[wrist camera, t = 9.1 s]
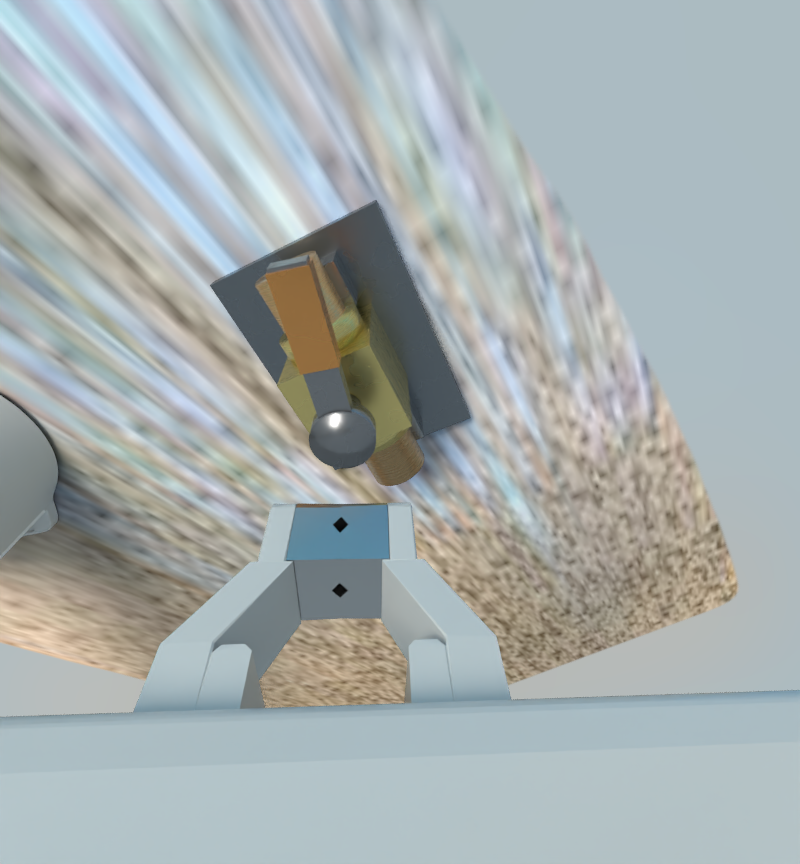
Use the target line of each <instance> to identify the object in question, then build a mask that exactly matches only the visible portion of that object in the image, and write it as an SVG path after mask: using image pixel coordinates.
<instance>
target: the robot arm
mask: <svg viewBox="0 0 800 864" xmlns="http://www.w3.org/2000/svg"><path fill="white" fill-rule="evenodd" d="M57 480H58V465H57V461H56V457H55V454H54V452H53V449H52V447H51V445H50V444H49V442H48V440H47V439H46V437H45V436H44V434H43V433H42V432H41V430H40V429H39V428H38V427H37V426H36V424H35V423H34V422H33V421H32V420H31V419H30V418H29V417H28V416H27V415H26V414H25V413H23V412H22V411H21V410H20V409H19V408H17V407H16V406H15V405H14V404H12V403H11V402H10V401H8V400H7V399H5V398H4V397H2V396H1V395H0V559H1V558H2V557H3V556H4V555H5V554H6V553H7V552H8V551H9V550H10V549H11V548H12V547H13V546H14V544H15V543H16V542H17V541H18V540H19V539H20V538H21V537H23V536H28V535H33V534H38V533H42V532H46V531H48V530H50V529H51V528H52V527H53V526H54V525H55V524H56V523H57V521H58V514H57V510H56V507H55V504H54V501H53V495H54V491H55V488H56V485H57ZM337 618H381V621H382V622H383V624H384V625H385V627H386V628H387V630H388V631H389V633H390V635H391V636H392V638H393V639H394V641H395V642H396V644H397V645H398V647H399V649H400V650H401V652H402V653H403V655H404V656H405V658H406V660H407V674H406V688H405V701H404V703H399V704H370V705H340V706H310V707H280V708H265V705H264V700H263V696H262V692H261V688H260V683H259V680H260V678H261V677H262V675H263V674H264V673H265V671H266V670H267V669H268V667H269V666H270V665H271V663H272V662H273V660H274V659H275V658H276V656H277V655H278V654H279V652H280V651H281V650H282V648H283V647H284V645H285V644H286V643H287V641H288V640H289V639H290V637H291V636H292V635H293V633H294V632H295V630H296V629H297V628H298V626H299V625H300V624H301V620H317V619H337ZM0 864H800V690H787V691H786V690H785V691H756V692H730V693H729V692H728V693H727V692H725V693H699V694H698V693H697V694H696V693H695V694H665V695H636V696H607V697H575V698H550V699H549V698H545V699H517V700H516V699H515V700H511V697H510V692H509V688H508V684H507V680H506V675H505V671H504V667H503V662H502V658H501V654H500V650H499V645H498V641H497V637H496V635H495V634H494V633H493V632H492V631H491V630H490V629H489V628H488V627H487V626H486V625H485V624H484V622H483V621H482V620H481V619H480V618H479V617H478V616H477V615H476V614H475V613H474V612H473V611H472V610H471V609H470V608H469V607H468V605H467V604H466V603H465V602H464V601H463V600H462V599H461V598H460V597H459V596H458V595H457V594H456V593H455V592H454V591H453V589H452V588H451V587H450V586H449V585H448V584H447V583H446V582H445V581H444V580H443V579H442V578H441V577H440V576H439V575H438V574H437V572H436V571H435V570H434V569H433V568H432V567H431V566H430V565H429V564H428V563H427V562H426V561H425V560H424V559H417V553H416V543H415V533H414V524H413V514H412V505H411V504H410V503H388V505H387V503H379V504H273V506H272V508H271V509H270V513H269V517H268V521H267V525H266V529H265V533H264V538H263V542H262V546H261V550H260V554H259V558H258V562H250V563H249V564H248V565H246V566H245V567H244V568H243V569H242V570H241V571H240V572H239V573H238V574H237V575H235V576H234V577H233V578H232V579H231V580H230V581H229V582H228V583H227V584H226V585H224V586H223V587H222V588H221V589H220V590H219V591H218V592H217V593H216V594H215V595H213V596H212V597H211V598H210V599H209V600H208V601H207V602H206V603H205V604H204V605H202V606H201V607H200V608H199V609H198V610H197V611H196V612H195V613H194V614H193V615H191V616H190V617H189V618H188V619H187V620H186V621H185V622H184V623H183V624H182V625H180V626H179V627H178V628H177V629H176V630H175V631H174V632H173V633H172V634H171V635H169V636H168V637H167V638H166V639H165V640H164V641H163V642H162V643H161V644H160V646H159V648H158V651H157V653H156V656H155V658H154V661H153V663H152V666H151V669H150V671H149V674H148V676H147V679H146V681H145V684H144V686H143V689H142V691H141V694H140V696H139V699H138V701H137V704H136V707H135V709H134V712H131V713H99V714H71V715H70V714H69V715H40V716H10V717H0Z"/></svg>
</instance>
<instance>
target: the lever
mask: <svg viewBox="0 0 800 864" xmlns="http://www.w3.org/2000/svg"><path fill="white" fill-rule="evenodd" d="M266 270H267V273H266V274H265V276H266V279H267V282H268V285H269V287H270V290H271V293H272V296H273V299H274V302H275V304H276V307H277V310H278V313H279V316H280V318H281V321H282V324H283V327H284V330H285V333H286V335H287V338H288V341H289V344H290V347H291V350H292V352H293V355H294V358H295V361H296V364H297V367H298V369H299V372H300V375H302V374H303V376H304V379H305V382H306V384H307V387H308V390H309V393H310V396H311V399H312V402H313V404H314V407H315V410H316V414H315V415H314V418H313V421H312V426H311V431H310V435H309V444H310V448H311V450H312V452H313V453H314V455H315V456H316V457H317V458H318V459H319V460H320V461H322V462H323V463H325V464H327V465H330V466H333V467H337V468H351V467H355V466H358V465H360V464H362V463H364V462H366V461H367V460H368V459H369V458H370V457H371V456H372V454H373V452H374V450H375V447H376V422H375V419H374V417H373V415H372V414H371V412H370V411H369V410H368V409H367V408H366V407H364V406H363V405H361V404H359V403H357V402H354V401H352V399H351V396H350V392H349V389H348V385H347V382H346V379H345V375H344V372H343V369H342V365H341V354H340V350H339V347H338V344H337V340H336V337H335V333H334V330H333V327H332V323H331V320H330V316H329V313H328V310H327V306H326V303H325V299H324V296H323V293H322V289H321V286H320V282H319V279H318V276H317V272H316V269H315V265H314V262H313V259H312V258H311V259H310V258H309V255H305V256H301V257H296V258H292V259H287V260H283V261H278V262H273V263H270V265H269V266H268V267H267V269H266Z"/></svg>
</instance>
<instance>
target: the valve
mask: <svg viewBox="0 0 800 864" xmlns="http://www.w3.org/2000/svg"><path fill="white" fill-rule="evenodd" d="M305 255H309V258H310V259H311V258H312V259H313V262H314V265H315V269H316V272H317V276H318V279H319V282H320V286H321V289H322V293H323V296H324V299H325V303H326V306H327V310H328V313H329V316H330V320H331V323H332V327H333V330H334V333H335V337H336V340H337V344H338V347H339V350H340V354H341V365H342V369H343V372H344V375H345V379H346V382H347V385H348V389H349V392H350V396H351V399H352V401H354V402H357V403H359V404H361V405H363V406H364V407H366V408H367V409H368V410H369V411H370V412H371V414H372V415H373V417H374V419H375V422H376V447H375V450H374V452H373V454H372V456H371V457H370V458H369V459H368V460H367V461H366V462H365V463H366V464H367V466H368V467H369V469H370V471H371V472H372V474H373V475H374V477H375V479H376V480H377V482H378V483H380V484H381V485H385V486H393V485H398V484H401V483H403V482H405V481H407V480H409V479H410V478H412V477H413V476H414V475H415V474H416V473H417V472H418V471H419V470H420V469H421V467H422V465H423V463H424V454H423V452H422V450H421V449H420V447H419V445H418V443H417V441H416V440H417V439H420V438H422V437H424V436H425V435H427V434H430V433H432V432H435V431H438V430H440V429H443V428H445V427H448V426H451V425H453V424H456V423H458V422H461V421H464V420H466V419H469V418H470V414H469V411H468V409H467V407H466V404H465V402H464V400H463V398H462V395H461V393H460V391H459V388H458V386H457V384H456V382H455V379H454V377H453V375H452V372H451V370H450V368H449V366H448V363H447V361H446V359H445V356H444V354H443V352H442V350H441V347H440V345H439V343H438V340H437V338H436V336H435V334H434V331H433V329H432V327H431V325H430V322H429V320H428V318H427V315H426V313H425V311H424V309H423V306H422V304H421V302H420V299H419V297H418V295H417V293H416V290H415V288H414V286H413V283H412V281H411V279H410V277H409V274H408V272H407V270H406V267H405V265H404V263H403V261H402V258H401V256H400V254H399V252H398V249H397V247H396V245H395V242H394V240H393V238H392V236H391V233H390V231H389V229H388V226H387V224H386V222H385V220H384V217H383V215H382V213H381V210H380V208H379V206H378V204H377V201H376V200H375V201H373V202H371V203H369V204H367V205H365V206H363V207H361V208H359V209H357V210H355V211H353V212H351V213H349V214H347V215H345V216H343V217H341V218H339V219H337V220H335V221H333V222H331V223H329V224H327V225H325V226H323V227H321V228H319V229H317V230H315V231H313V232H311V233H310V234H308V235H306V236H304V237H302V238H300V239H298V240H296V241H294V242H292V243H290V244H288V245H286V246H284V247H282V248H280V249H278V250H276V251H274V252H272V253H270V254H268V255H266V256H264V257H262V258H260V259H258V260H256V261H254V262H252V263H250V264H248V265H246V266H244V267H242V268H240V269H238V270H236V271H234V272H232V273H230V274H228V275H226V276H224V277H222V278H220V279H218V280H216V281H214V282H213V283H212V284H211V285H210V286H211V288H212V289H213V291H214V292H215V294H216V295H217V297H218V298H219V299H220V301H221V302H222V304H223V305H224V307H225V308H226V310H227V311H228V313H229V314H230V316H231V317H232V319H233V320H234V322H235V323H236V325H237V326H238V328H239V329H240V330H241V332H242V333H243V335H244V336H245V338H246V339H247V341H248V342H249V344H250V345H251V347H252V348H253V350H254V351H255V353H256V354H257V356H258V357H259V358H260V360H261V361H262V363H263V364H264V366H265V367H266V369H267V370H268V372H269V373H270V375H271V376H272V378H273V379H274V381H275V382H276V384H277V386H278V388H279V389H280V391H281V392H282V394H283V395H284V397H285V398H286V400H287V401H288V403H289V404H290V406H291V407H292V409H293V410H294V411H295V413H296V414H297V416H298V417H299V419H300V420H301V422H302V423H303V425H304V426H305V428H306V429H307V431H308V432H309V434H310V431H311V426H312V421H313V418H314V415H315V414H316V410H315V407H314V404H313V402H312V399H311V396H310V393H309V390H308V387H307V384H306V382H305V379H304V376H303V374H302V375H300V372H299V369H298V367H297V364H296V361H295V358H294V355H293V352H292V350H291V347H290V344H289V341H288V338H287V335H286V333H285V330H284V327H283V324H282V321H281V318H280V316H279V313H278V310H277V307H276V304H275V302H274V299H273V296H272V293H271V290H270V287H269V285H268V282H267V279H266V276H265V274H266V273H267V270H266V269H267V267H268V266H269V265H270V263H273V262H278V261H283V260H287V259H292V258H296V257H301V256H305ZM333 468H334V469H335V470H337V469H339V468H337V467H333Z"/></svg>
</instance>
